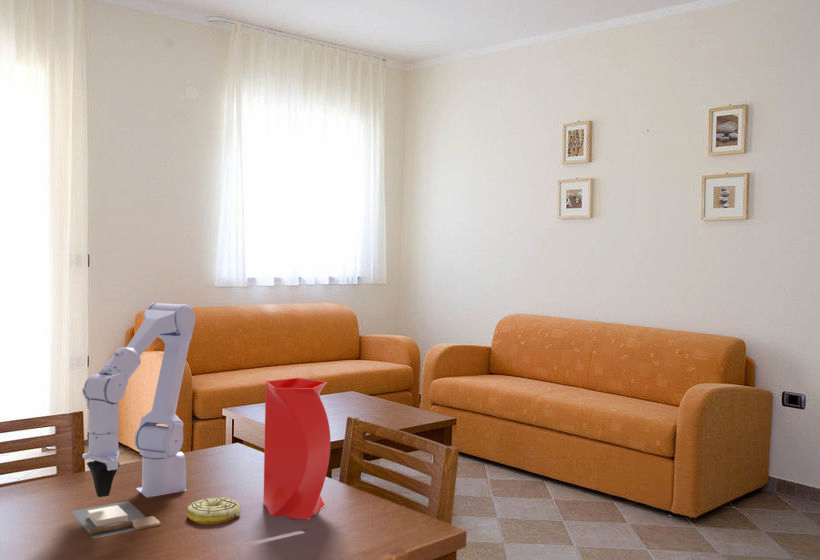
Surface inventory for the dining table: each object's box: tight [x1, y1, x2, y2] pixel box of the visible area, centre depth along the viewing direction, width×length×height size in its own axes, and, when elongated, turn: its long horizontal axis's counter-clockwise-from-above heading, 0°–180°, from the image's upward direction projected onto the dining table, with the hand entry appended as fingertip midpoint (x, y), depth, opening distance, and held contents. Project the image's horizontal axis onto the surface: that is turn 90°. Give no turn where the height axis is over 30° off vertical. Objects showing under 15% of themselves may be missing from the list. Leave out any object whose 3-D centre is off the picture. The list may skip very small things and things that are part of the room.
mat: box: [70, 500, 155, 540], centre depth 153 cm, size 12×18×1 cm, turn 38°
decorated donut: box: [186, 496, 241, 526], centre depth 156 cm, size 10×11×4 cm
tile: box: [88, 505, 128, 527], centre depth 152 cm, size 6×2×7 cm
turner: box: [88, 515, 161, 536], centre depth 148 cm, size 13×4×1 cm, turn 128°
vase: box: [262, 377, 331, 520], centre depth 162 cm, size 15×14×28 cm
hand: (102, 495), depth 155 cm, fingers closed
